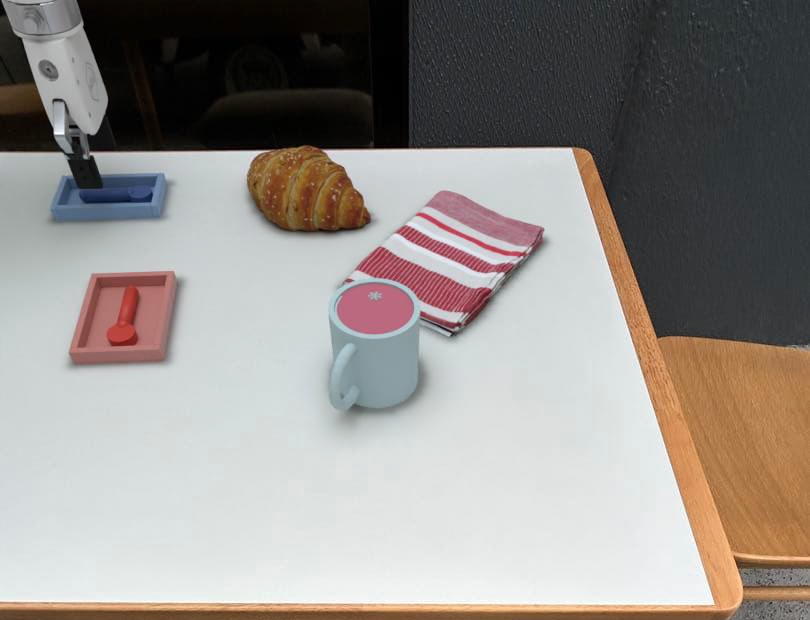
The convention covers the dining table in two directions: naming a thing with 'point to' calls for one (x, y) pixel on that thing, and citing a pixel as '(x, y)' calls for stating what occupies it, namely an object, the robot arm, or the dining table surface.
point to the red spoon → (125, 321)
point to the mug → (373, 343)
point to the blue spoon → (118, 194)
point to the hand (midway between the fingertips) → (97, 167)
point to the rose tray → (104, 313)
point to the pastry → (305, 190)
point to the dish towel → (452, 258)
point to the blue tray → (74, 208)
